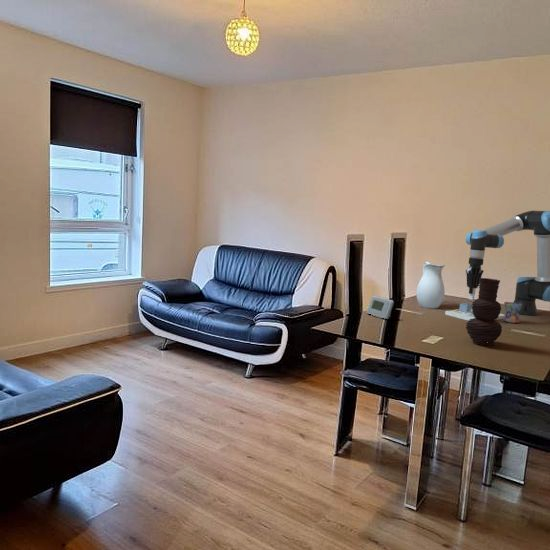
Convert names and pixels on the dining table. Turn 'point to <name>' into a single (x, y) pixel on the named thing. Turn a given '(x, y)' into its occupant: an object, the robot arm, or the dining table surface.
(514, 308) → the mug
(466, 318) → the switch board
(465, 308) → the tab
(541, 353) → the dining table surface
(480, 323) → the vase
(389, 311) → the digital clock
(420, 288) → the pitcher
